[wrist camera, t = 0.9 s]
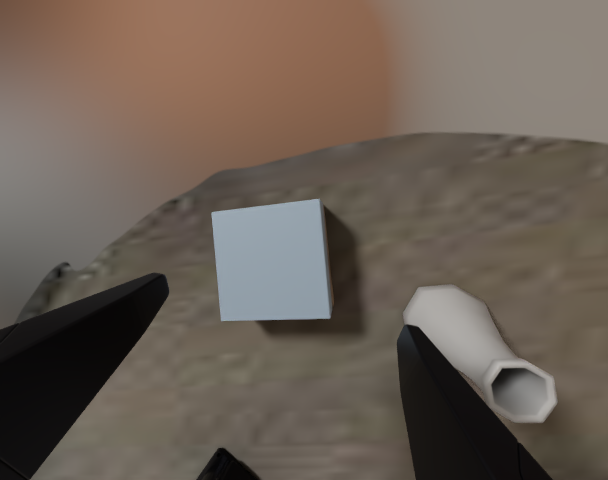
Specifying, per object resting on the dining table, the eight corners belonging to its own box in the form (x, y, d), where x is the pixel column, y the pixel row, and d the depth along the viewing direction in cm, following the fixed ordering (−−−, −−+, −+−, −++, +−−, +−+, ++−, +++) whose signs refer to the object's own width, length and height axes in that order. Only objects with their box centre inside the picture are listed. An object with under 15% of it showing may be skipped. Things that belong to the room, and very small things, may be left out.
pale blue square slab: (332, 309, 21) (330, 318, 19) (234, 312, 23) (221, 320, 21) (322, 203, 22) (319, 198, 19) (226, 214, 23) (211, 212, 21)
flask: (495, 292, 20) (627, 342, 11) (478, 369, 21) (591, 488, 11) (409, 275, 22) (456, 306, 12) (395, 348, 22) (429, 436, 12)
